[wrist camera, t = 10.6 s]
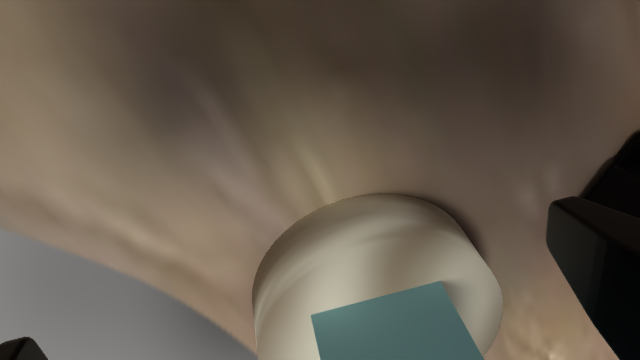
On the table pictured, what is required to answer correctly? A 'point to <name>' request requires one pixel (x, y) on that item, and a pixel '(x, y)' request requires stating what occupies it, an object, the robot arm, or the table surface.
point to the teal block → (396, 328)
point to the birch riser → (367, 270)
